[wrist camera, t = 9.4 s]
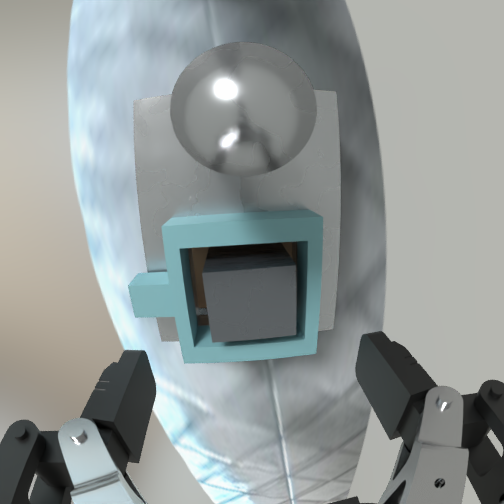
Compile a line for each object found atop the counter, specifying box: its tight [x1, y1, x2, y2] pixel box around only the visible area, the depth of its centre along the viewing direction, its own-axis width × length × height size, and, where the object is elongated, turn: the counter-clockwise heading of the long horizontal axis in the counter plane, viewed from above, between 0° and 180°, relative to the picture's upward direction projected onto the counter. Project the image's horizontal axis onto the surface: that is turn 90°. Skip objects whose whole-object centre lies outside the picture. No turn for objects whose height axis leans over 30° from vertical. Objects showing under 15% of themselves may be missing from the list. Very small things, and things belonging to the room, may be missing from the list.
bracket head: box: [128, 210, 323, 363], centre depth 16 cm, size 8×11×2 cm
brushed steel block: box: [202, 242, 296, 343], centre depth 17 cm, size 4×4×7 cm
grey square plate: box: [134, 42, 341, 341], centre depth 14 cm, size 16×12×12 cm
